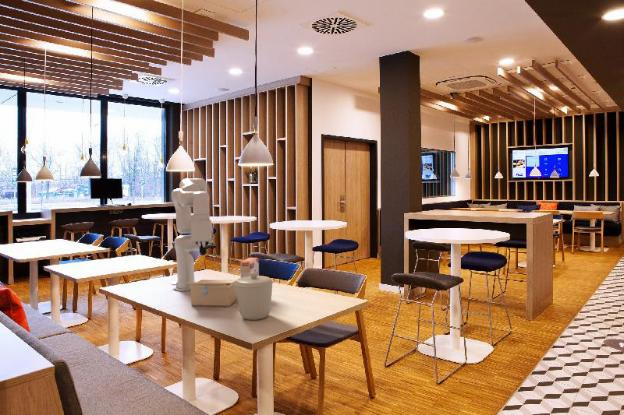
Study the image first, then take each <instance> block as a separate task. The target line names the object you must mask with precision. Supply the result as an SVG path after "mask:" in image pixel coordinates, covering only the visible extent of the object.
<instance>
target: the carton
mask: <svg viewBox="0 0 624 415" xmlns="http://www.w3.org/2000/svg"><path fill="white" fill-rule="evenodd" d="M235 281H237V280H236V279H200V280H198V281H197V282H217V283H225V284H226V285H228V287H207V288H206V289H207V290H208V294H207V295H203V294H202V290H203V289H204V287H205V286H191V290H190V301H191V302H190V303H191V305H190V306H191V307H218V308H219V307H220V308H222V307H223V308H226V307H227V308H229V307H231V306H232V305H234V303H236V302H238V299H237V292H236V285H234V282H235Z"/></svg>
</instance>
